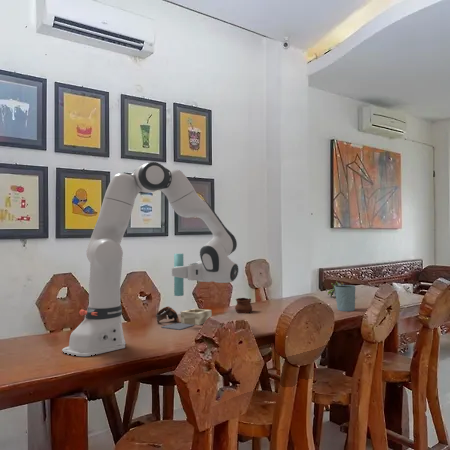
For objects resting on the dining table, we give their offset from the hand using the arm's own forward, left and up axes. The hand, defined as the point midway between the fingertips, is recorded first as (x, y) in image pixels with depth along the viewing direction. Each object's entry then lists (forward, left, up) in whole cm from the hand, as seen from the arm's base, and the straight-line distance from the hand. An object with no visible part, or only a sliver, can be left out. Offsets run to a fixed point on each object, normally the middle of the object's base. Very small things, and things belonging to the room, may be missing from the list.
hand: (177, 269), depth 196 cm
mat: (-1, -1, -24) cm, 24 cm away
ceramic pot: (+43, -8, -25) cm, 50 cm away
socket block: (+11, -2, -24) cm, 27 cm away
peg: (0, -1, -11) cm, 11 cm away
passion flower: (+109, -34, -25) cm, 116 cm away
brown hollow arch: (+4, +9, -25) cm, 27 cm away
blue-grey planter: (+71, -51, -25) cm, 90 cm away
